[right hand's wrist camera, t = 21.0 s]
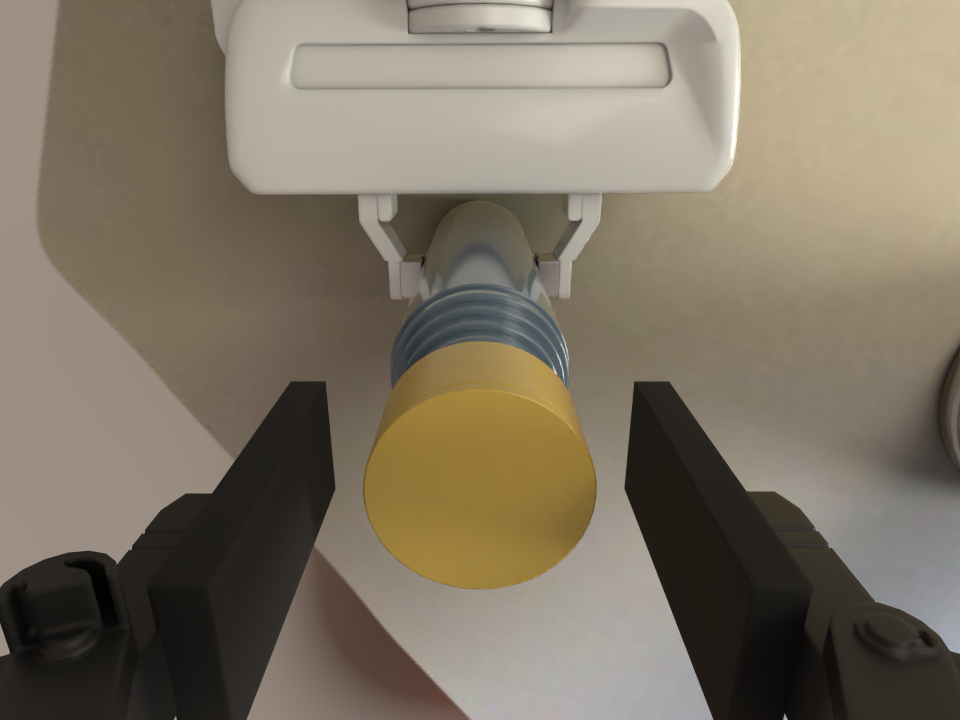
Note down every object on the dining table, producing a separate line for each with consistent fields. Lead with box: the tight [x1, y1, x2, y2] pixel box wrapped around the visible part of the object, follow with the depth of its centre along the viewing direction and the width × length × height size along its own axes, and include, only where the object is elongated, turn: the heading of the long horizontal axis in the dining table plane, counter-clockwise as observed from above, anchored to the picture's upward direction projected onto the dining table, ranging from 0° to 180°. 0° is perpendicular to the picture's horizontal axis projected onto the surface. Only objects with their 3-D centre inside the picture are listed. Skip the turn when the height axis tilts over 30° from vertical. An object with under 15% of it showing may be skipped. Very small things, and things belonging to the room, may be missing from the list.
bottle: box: [390, 200, 569, 390], centre depth 24 cm, size 5×5×24 cm
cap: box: [363, 341, 597, 589], centre depth 14 cm, size 4×4×3 cm
